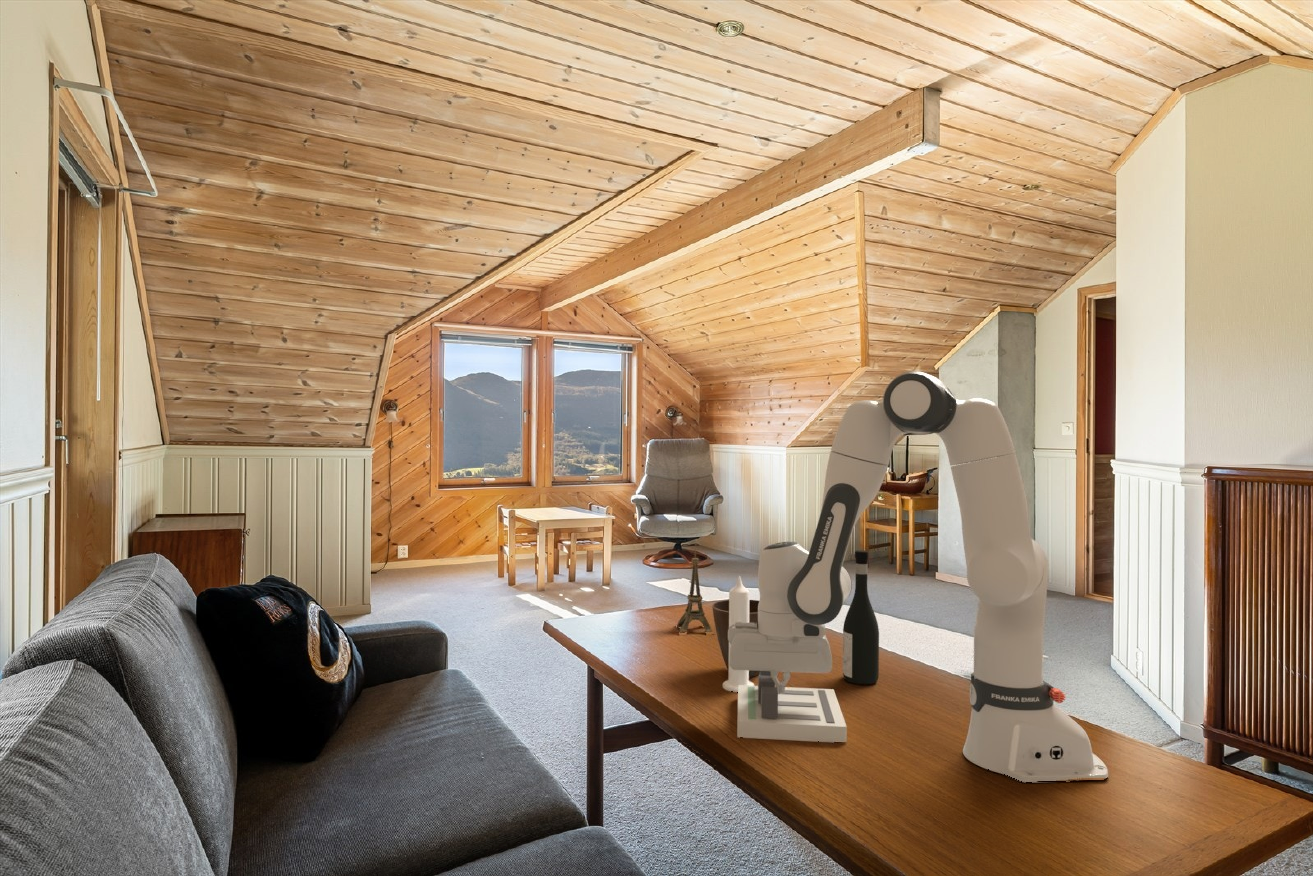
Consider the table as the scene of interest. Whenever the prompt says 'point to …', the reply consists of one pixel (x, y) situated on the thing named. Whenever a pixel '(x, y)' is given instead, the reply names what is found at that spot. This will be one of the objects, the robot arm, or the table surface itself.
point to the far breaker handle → (766, 674)
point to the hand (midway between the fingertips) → (780, 692)
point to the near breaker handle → (769, 702)
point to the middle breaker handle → (764, 684)
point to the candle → (736, 614)
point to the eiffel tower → (690, 613)
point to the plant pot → (723, 625)
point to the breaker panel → (792, 716)
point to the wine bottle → (861, 631)
